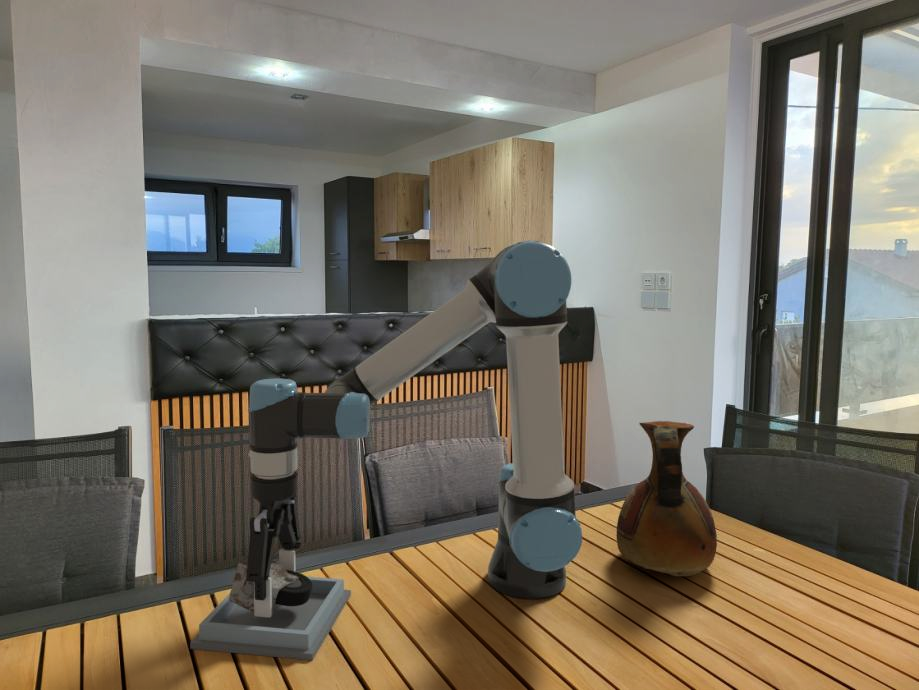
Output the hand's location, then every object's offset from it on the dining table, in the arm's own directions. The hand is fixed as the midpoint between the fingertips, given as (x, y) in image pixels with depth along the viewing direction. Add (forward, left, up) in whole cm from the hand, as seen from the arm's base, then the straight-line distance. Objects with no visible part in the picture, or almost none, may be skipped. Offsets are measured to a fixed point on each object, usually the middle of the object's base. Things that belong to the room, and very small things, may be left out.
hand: (276, 599), depth 109 cm
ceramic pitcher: (-70, -32, -4) cm, 77 cm away
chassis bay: (0, 0, -4) cm, 4 cm away
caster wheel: (0, 0, 0) cm, 1 cm away
